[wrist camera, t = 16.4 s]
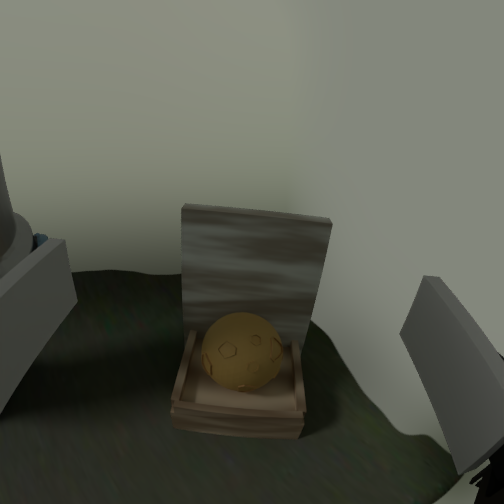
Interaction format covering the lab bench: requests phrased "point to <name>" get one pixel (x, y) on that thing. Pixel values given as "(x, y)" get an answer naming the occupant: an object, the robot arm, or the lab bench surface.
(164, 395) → the lab bench surface
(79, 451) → the lab bench surface
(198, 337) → the ledge stand
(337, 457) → the lab bench surface
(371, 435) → the lab bench surface
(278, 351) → the stress ball
